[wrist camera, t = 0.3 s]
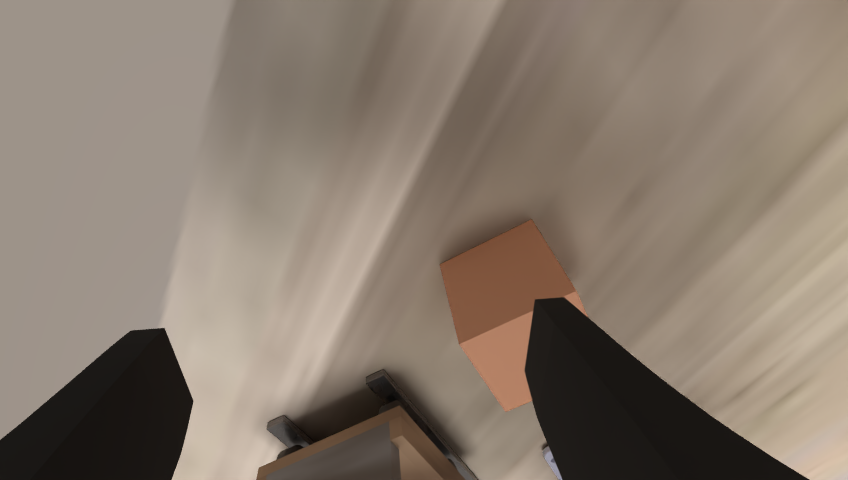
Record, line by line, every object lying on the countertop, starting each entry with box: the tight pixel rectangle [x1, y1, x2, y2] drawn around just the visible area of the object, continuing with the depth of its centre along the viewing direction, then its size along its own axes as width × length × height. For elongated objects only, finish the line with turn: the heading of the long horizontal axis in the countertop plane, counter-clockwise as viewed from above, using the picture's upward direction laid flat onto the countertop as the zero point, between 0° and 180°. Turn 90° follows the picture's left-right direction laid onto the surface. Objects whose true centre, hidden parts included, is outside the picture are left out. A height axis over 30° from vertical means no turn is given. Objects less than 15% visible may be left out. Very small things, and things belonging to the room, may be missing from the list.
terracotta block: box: [440, 219, 588, 412], centre depth 19 cm, size 4×4×5 cm
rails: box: [267, 370, 478, 480], centre depth 27 cm, size 13×7×1 cm, turn 28°
